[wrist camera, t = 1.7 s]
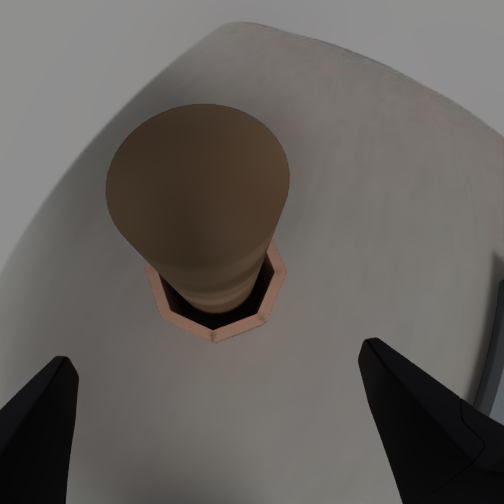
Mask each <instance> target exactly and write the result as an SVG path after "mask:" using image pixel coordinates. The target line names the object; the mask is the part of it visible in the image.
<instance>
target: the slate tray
mask: <svg viewBox="0 0 504 504" xmlns="http://www.w3.org/2000/svg"><path fill="white" fill-rule="evenodd" d="M473 407H475V408H476V409H477V410H479V411H480V412H482V413H484V414H485V415H487V416H488V417H490V418H492V419H493V420H495V421H497V422H499V423H500V424H502V425H504V280H502V281H500V287H499V295H498V303H497V310H496V316H495V322H494V328H493V333H492V338H491V343H490V348H489V352H488V356H487V361H486V365H485V369H484V372H483V376H482V380H481V383H480V387H479V390H478V393H477V396H476V399H475V403H474V406H473Z"/></svg>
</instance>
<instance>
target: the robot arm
mask: <svg viewBox="0 0 504 504" xmlns="http://www.w3.org/2000/svg"><path fill="white" fill-rule="evenodd" d="M358 364H359V368H360V372H361V376H362V380H363V384H364V388H365V392H366V396H367V400H368V404H369V407H370V410H371V413H372V415H373V418H374V421H375V423H376V426H377V429H378V432H379V435H380V437H381V440H382V443H383V446H384V449H385V452H386V454H387V457H388V460H389V463H390V466H391V469H392V472H393V475H394V478H395V481H396V484H397V487H398V490H399V494H400V497H401V500H402V503H403V504H504V425H502V424H500V423H499V422H497V421H495V420H493V419H492V418H490V417H488V416H487V415H485V414H484V413H482V412H480V411H479V410H477V409H476V408H475V407H473V406H472V405H470V404H469V403H467V402H466V401H465V400H463V399H462V398H460V397H459V396H458V395H456V394H455V393H453V392H452V391H451V390H449V389H448V388H447V387H445V386H444V385H442V384H441V383H440V382H438V381H437V380H436V379H434V378H433V377H431V376H430V375H429V374H427V373H426V372H425V371H423V370H422V369H420V368H419V367H418V366H416V365H415V364H413V363H412V362H411V361H409V360H408V359H407V358H405V357H404V356H402V355H401V354H400V353H398V352H397V351H395V350H394V349H393V348H391V347H390V346H389V345H387V344H386V343H384V342H383V341H382V340H380V339H379V338H376V337H375V338H369V339H365V340H364V341H363V344H362V347H361V350H360V354H359V357H358ZM78 384H79V376H78V373H77V371H76V369H75V368H74V366H73V364H72V362H71V361H70V359H69V358H68V357H66V356H56V357H55V358H53V359H52V360H51V361H50V362H49V363H48V364H47V365H46V366H45V367H44V368H43V369H42V370H41V371H40V372H38V373H37V374H36V375H35V376H34V377H33V378H32V379H31V380H30V381H29V382H28V383H27V384H26V385H25V386H24V387H23V388H22V389H21V390H20V391H19V392H18V393H17V394H16V395H15V396H14V397H13V398H12V399H11V400H10V401H9V402H8V403H7V404H6V405H5V406H4V407H3V408H2V409H1V410H0V504H66V492H67V480H68V470H69V462H70V454H71V446H72V439H73V433H74V427H75V419H76V406H77V394H78Z"/></svg>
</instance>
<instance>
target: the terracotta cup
mask: <svg viewBox="0 0 504 504" xmlns="http://www.w3.org/2000/svg"><path fill="white" fill-rule="evenodd" d="M145 268H146V271H147V275H148V278H149V281H150V284H151V287H152V291H153V294H154V297H155V300H156V303H157V306H158V309H159V312H160V315H161V318H162V319H163V320H165V321H167V322H169V323H171V324H174V325H176V326H178V327H180V328H182V329H184V330H186V331H188V332H190V333H192V334H194V335H197V336H199V337H201V338H203V339H205V340H208V341H210V342H212V343H217V342H220V341H223V340H225V339H228V338H231V337H233V336H236V335H239V334H241V333H244V332H246V331H249V330H251V329H254V328H256V327H259V326H261V325H263V324H264V323H266V321H267V319H268V316H269V314H270V312H271V309H272V307H273V304H274V302H275V300H276V297H277V295H278V292H279V290H280V288H281V285H282V283H283V280H284V278H285V275H286V273H287V271H286V269H285V266H284V264H283V262H282V259H281V257H280V255H279V253H278V250H277V248H276V246H275V243H274V241H273V239H271V242H270V244H269V247H268V250H267V252H266V255H265V258H264V260H263V263H262V266H261V268H260V270H261V272H262V275H263V277H264V279H265V282H266V284H267V286H266V289H265V291H264V293H263V296H262V298H261V300H260V303H259V305H258V307H257V310H256V312H255V314H254V315H253V316H250V317H247V318H245V319H242V320H240V321H237V322H235V323H232V324H229V325H227V326H224V327H221V328H219V329H216V330H211V329H208V328H206V327H204V326H202V325H200V324H198V323H195V322H193V321H191V320H189V319H187V318H185V317H183V316H182V315H181V312H180V309H179V306H178V304H177V301H176V298H175V295H174V292H173V289H172V286H171V285H170V284H169V283H168V282H167V281H166V280H165V279H164V278H163V277H162V276H161V275H160V274H159V273H158V272H157V271H156V270H155V269H154V268H153V267H152V266H151V265H150V264H149V263H147V265H146V267H145Z"/></svg>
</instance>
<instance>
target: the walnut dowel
mask: <svg viewBox="0 0 504 504" xmlns="http://www.w3.org/2000/svg"><path fill="white" fill-rule="evenodd" d="M289 176H290V174H289V167H288V162H287V158H286V155H285V153H284V150H283V148H282V146H281V144H280V143H279V141H278V140H277V138H276V137H275V136H274V134H273V133H272V132H271V131H270V130H269V129H268V128H267V127H266V126H265V125H264V124H262V123H261V122H260V121H258V120H257V119H255V118H254V117H252V116H250V115H248V114H246V113H245V112H242V111H239V110H237V109H234V108H230V107H226V106H221V105H215V104H193V105H187V106H181V107H177V108H173V109H170V110H168V111H165V112H162V113H160V114H158V115H156V116H154V117H152V118H150V119H149V120H147V121H146V122H144V123H143V124H141V125H140V126H139V127H138V128H136V129H135V130H134V131H133V132H132V133H131V134H130V135H129V136H128V137H127V138H126V139H125V141H124V142H123V143H122V144H121V146H120V147H119V149H118V150H117V152H116V154H115V156H114V158H113V160H112V162H111V165H110V168H109V171H108V175H107V181H106V200H107V206H108V209H109V213H110V215H111V218H112V220H113V222H114V224H115V225H116V227H117V228H118V230H119V231H120V233H121V234H122V235H123V236H124V237H125V238H126V239H127V240H128V242H129V243H130V244H131V245H132V246H133V247H134V248H135V249H136V250H137V251H138V252H139V253H140V254H141V255H142V256H143V257H144V258H145V259H146V261H147V262H148V263H149V264H150V265H151V266H152V267H153V268H154V269H155V270H156V271H157V272H158V273H159V274H160V275H161V276H162V277H163V278H164V279H165V280H166V281H167V282H168V283H169V284H170V285H171V286H172V287H173V288H174V289H175V290H176V291H177V292H178V293H179V294H180V295H181V296H182V297H183V298H184V299H185V300H187V301H188V302H189V303H190V304H191V305H192V306H193V307H194V308H195V309H196V310H197V311H199V312H200V313H202V314H204V315H206V316H209V317H214V318H223V317H227V316H231V315H233V314H235V313H236V312H238V311H239V310H240V309H242V308H243V307H244V305H245V304H246V303H247V301H248V299H249V297H250V294H251V292H252V289H253V287H254V284H255V281H256V279H257V276H258V273H259V271H260V268H261V266H262V263H263V260H264V258H265V255H266V252H267V250H268V247H269V244H270V242H271V239H272V236H273V234H274V231H275V228H276V226H277V223H278V220H279V218H280V215H281V212H282V210H283V207H284V204H285V201H286V198H287V195H288V189H289Z"/></svg>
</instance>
